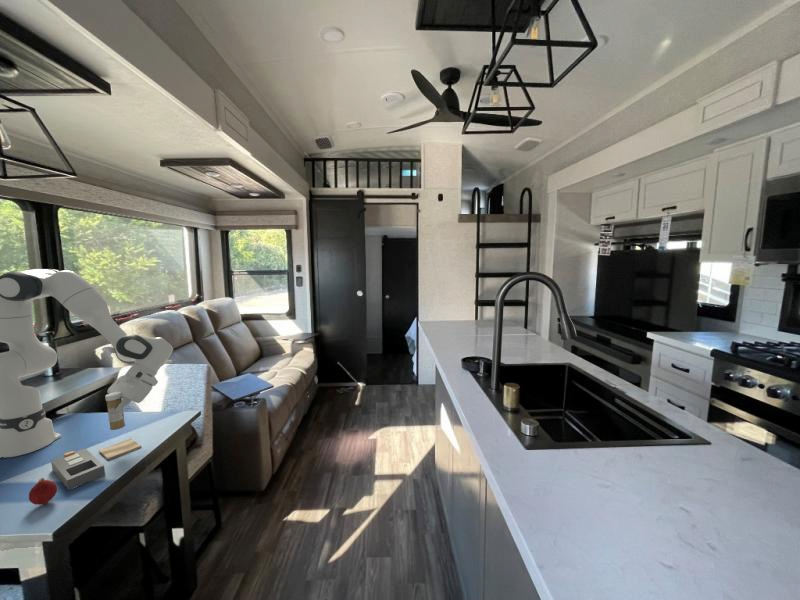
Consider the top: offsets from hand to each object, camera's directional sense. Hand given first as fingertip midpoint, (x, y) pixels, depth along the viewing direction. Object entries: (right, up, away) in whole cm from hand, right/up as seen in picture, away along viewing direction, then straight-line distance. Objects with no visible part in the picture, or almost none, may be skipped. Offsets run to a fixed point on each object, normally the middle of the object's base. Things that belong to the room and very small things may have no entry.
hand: (113, 409), depth 125 cm
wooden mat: (+1, -16, +2) cm, 17 cm away
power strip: (-5, -18, -9) cm, 21 cm away
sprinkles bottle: (+1, -8, +1) cm, 8 cm away
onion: (+2, -20, -26) cm, 33 cm away
